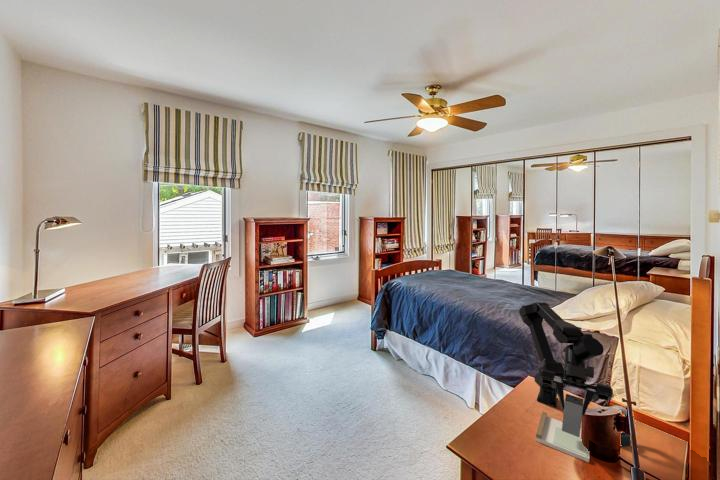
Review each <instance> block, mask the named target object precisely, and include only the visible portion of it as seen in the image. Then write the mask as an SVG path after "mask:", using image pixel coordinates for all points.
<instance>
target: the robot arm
mask: <svg viewBox="0 0 720 480" xmlns="http://www.w3.org/2000/svg"><path fill="white" fill-rule="evenodd" d="M518 312H519V316H520V317H521V320H522V322H523V323H524V324H525V325H526V326H527V327H528V328H529V332H530V334H531V337H532V340H533V343H534V347H535V349H536V353H537V356H538V359H539V361H540V363H539V367H538V369H537V370H538V373H536V374H534V377H533V378H534V382H535V383H536V385H538V386H539V392H538V395H537V397H536V401H537V402H540V403H542V404H546V405H549V406H552V407H554V408H557V407H558V403H559V402H560V405H561V409H562V410H563V411H564V405H565V397H564V396H565V395H564V389H565V386H568V387H572V388H576V389H580V390H582V391H585V393H584V397H583V399H584V400H583V411H582V417H585V415H586V412H587V410H588V407H589V405H590V404H591V402H592V400H593V401H597V399H600V400H604V401H606V402H610V401H611V400H612V399H613V396H614V390H613V388H612V386H610V385H608V384H602V383H600V382H596V383H595V385H592V384H587V380H588V379H587V377H588V378H591V379H594V378H595V377H594V376H595V367H593V366H589V365H586V362H587V361H590V360H593V359H594V358H597V357H599V356H601V355H603V353H604V346H603V344H602V343H601V342H600V341H599V340H598V339H597V338H595V337H594V336H593V334H592V333H584V332H583V331H582V330H581V329H580V328H579V327H578V326H577V325H575V324H574V323H570V322H568V321H566V320H564V319H563V318H562V317H561V316H560V315H559V314H558V313H557V312H556V311H555V310H554V309H552V308H551V307H550V305H549V303H547V302H541V301H540V302H539V301H536V302H533V303H531V304H530V303H529V304H527V305H522V306H521V307H520V308H519V310H518ZM543 321H545V323H547V324H548V325H549V326H550V328H551V329H552V335H553V337H554V338H555V340H557V342H558V343H559V344H568V345H566V346H565V347H563V350H562V352H563V353H564V366H563V363H562V362H558V361H556V360H555V357H554V355H553V352H552V350H551V347H550V344H549V340H548V339H547V335H546V333H545V329H544V327H543Z"/></svg>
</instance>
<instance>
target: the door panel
mask: <svg viewBox="0 0 720 480" xmlns="http://www.w3.org/2000/svg"><path fill="white" fill-rule="evenodd" d="M539 419H540V420H539V423H538V425H537V426H538V427H537V430H536V434H535V441H536V442H538V443H540V444H543V445H545V446H547V447H550V448H552V449H554V450H557V451H560V452H562V453H564V454H567V455H570V456H572V457H574V458H577V459H579V460H582V461H584V462H586V463H590V453H591V451H588V449H587V448H586V447H585V446H584V445H583V443H582V439H581V429H582V428H580V437H577V436H574V435H572V434H569V433H567V432H564V431H562V423H563V421H561V420H559V419H556V418H552V417H550V416H548V412H545V411H541V415H540V418H539Z"/></svg>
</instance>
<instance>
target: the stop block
mask: <svg viewBox="0 0 720 480" xmlns="http://www.w3.org/2000/svg"><path fill="white" fill-rule="evenodd" d="M583 403H584V398H580V397H578V396H574V395H573V394H569V393H566V394H565V397H564V410H563V416H562V422H563V423H562V431H564V432H567V433H569V434H572V435H574V436H577V437H580V428H581V425H582V417H583V416H582V411H583ZM581 429H582V428H581Z"/></svg>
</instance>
